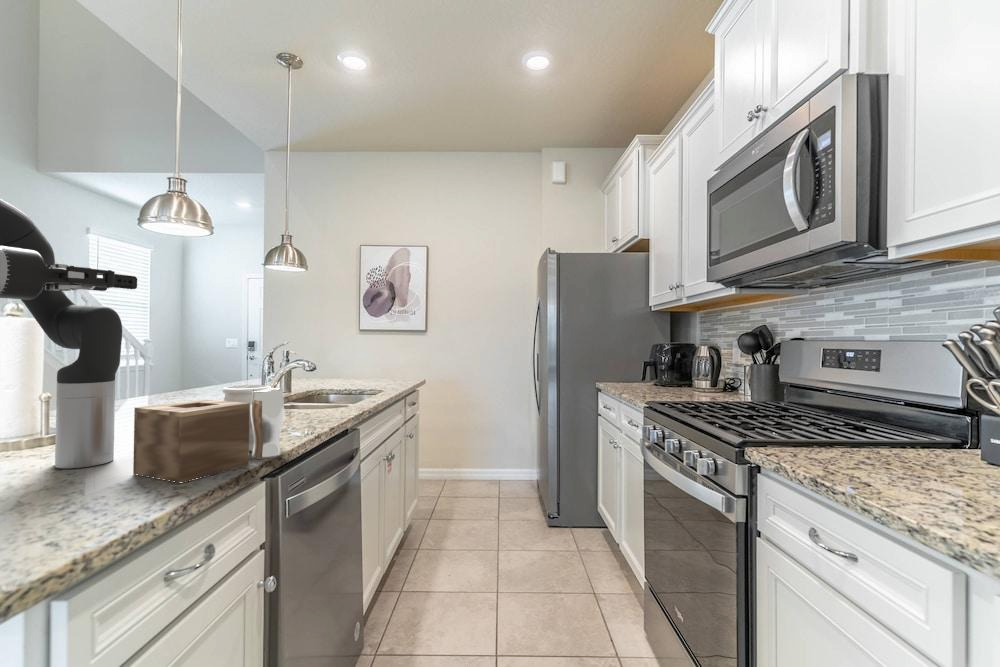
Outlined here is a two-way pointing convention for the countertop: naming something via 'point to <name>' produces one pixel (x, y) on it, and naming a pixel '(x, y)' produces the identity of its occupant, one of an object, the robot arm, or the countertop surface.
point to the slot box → (190, 439)
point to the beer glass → (266, 422)
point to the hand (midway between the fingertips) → (120, 284)
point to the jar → (242, 400)
